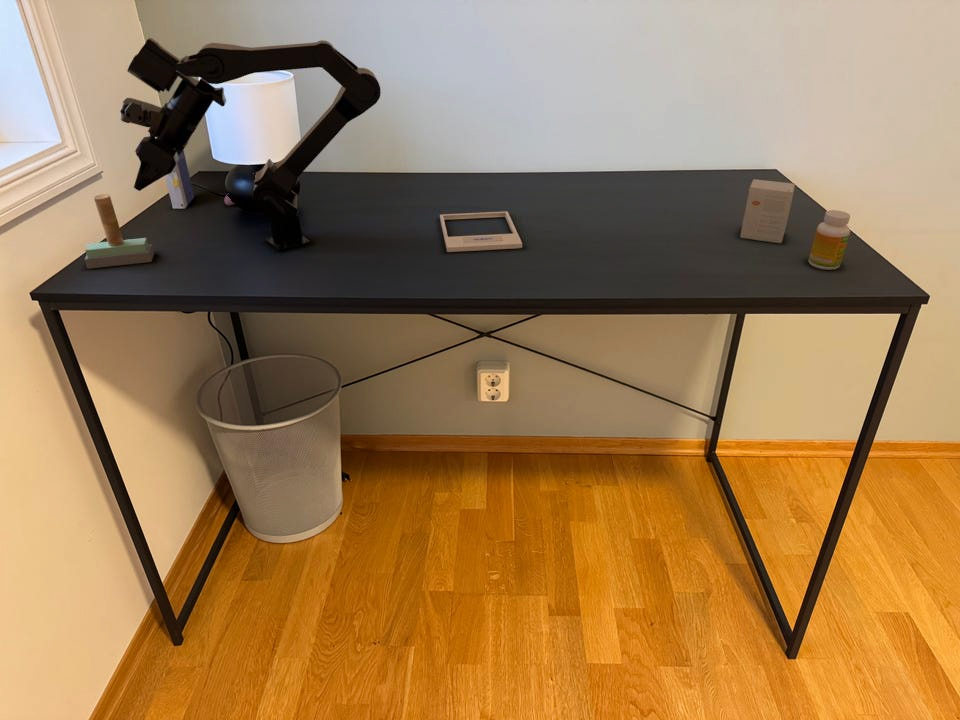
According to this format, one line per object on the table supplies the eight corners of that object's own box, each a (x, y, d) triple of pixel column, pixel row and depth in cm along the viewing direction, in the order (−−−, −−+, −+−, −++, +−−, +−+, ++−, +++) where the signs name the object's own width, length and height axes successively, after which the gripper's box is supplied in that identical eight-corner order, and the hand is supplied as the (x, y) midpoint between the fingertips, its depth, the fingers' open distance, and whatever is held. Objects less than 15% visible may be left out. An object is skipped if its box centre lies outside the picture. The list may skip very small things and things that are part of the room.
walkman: (182, 197, 159) (169, 145, 153) (194, 197, 160) (182, 144, 153) (172, 209, 153) (158, 154, 146) (184, 208, 153) (171, 154, 147)
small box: (783, 234, 139) (796, 183, 133) (781, 244, 134) (794, 191, 129) (742, 228, 142) (753, 178, 136) (738, 238, 137) (749, 186, 132)
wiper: (154, 253, 132) (136, 190, 125) (151, 262, 128) (133, 197, 122) (91, 260, 129) (70, 195, 123) (87, 269, 126) (65, 203, 119)
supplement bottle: (837, 273, 123) (852, 221, 118) (805, 266, 126) (819, 215, 120) (841, 262, 127) (856, 212, 122) (810, 256, 129) (824, 206, 124)
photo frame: (446, 246, 131) (439, 213, 146) (447, 252, 131) (439, 218, 147) (522, 242, 132) (507, 210, 148) (522, 248, 133) (507, 215, 148)
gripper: (150, 70, 123) (108, 140, 128) (128, 90, 108) (82, 169, 113) (208, 109, 129) (166, 176, 133) (195, 134, 113) (148, 208, 118)
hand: (141, 181), depth 124 cm, fingers open, 9 cm apart
